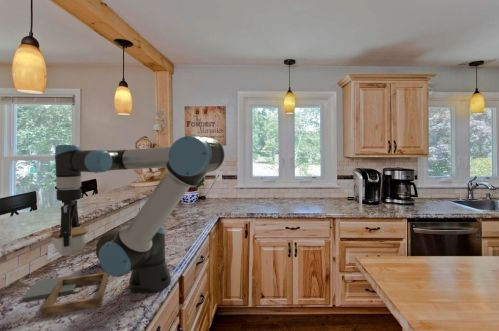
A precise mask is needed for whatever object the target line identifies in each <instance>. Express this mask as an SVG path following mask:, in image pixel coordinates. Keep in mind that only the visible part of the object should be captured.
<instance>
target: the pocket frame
mask: <svg viewBox="0 0 499 331" xmlns="http://www.w3.org/2000/svg"><path fill="white" fill-rule="evenodd" d="M108 282H109V274H107V273H106V272H102V273H101V272H100V273H94V274H87V275H81V276H79V277H72V278H65V279H60V280H59V282H58V283H57V285H56V286H55V288H54V289H53V291H52V292H51V294H50V296H49V297H47V299H46V300H45V302H44V303H43V305H42V306H41V308H40V309H41V318H48V317H54V316H59V315H64V314H70V313H77V312H80V311H85V310H86V311H87V310H93V309H97V308H101V307H102V305H103V301H104V300H103V299H104V297H105V293H106V290H107V285H108ZM71 283H77V286H82V285H84V286H85V285H90V284H91V285H92V284H96V283H100V285H99V290H98V293H97V296H95V297H89V298H83V299H78V300H71V301H67V302H60V303H56V301H57V299H58V298H59V296H60V295H59V291H60V289H61V288H62V286H63V285H64V284H71Z"/></svg>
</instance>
